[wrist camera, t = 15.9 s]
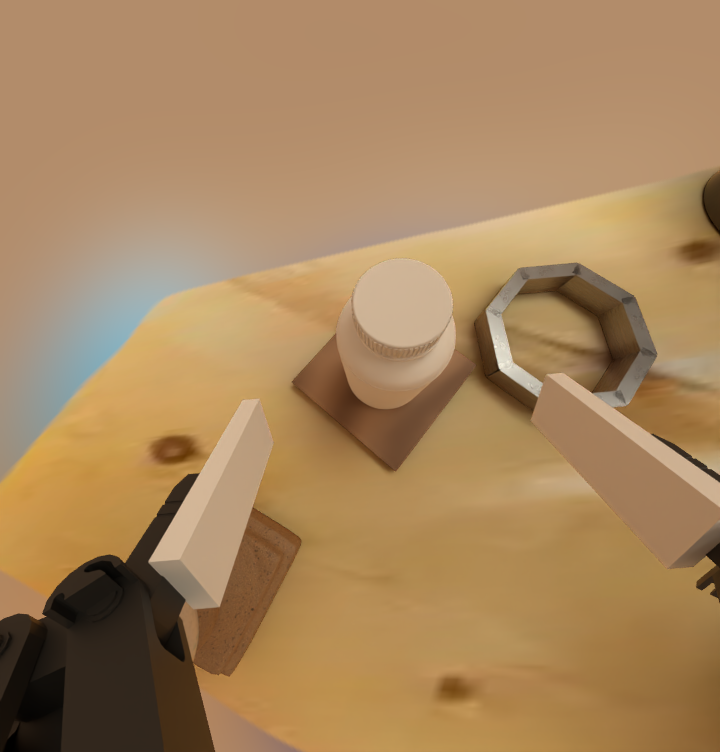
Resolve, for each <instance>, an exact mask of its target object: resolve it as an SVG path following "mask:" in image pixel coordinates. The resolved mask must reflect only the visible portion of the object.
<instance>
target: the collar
mask: <svg viewBox="0 0 720 752" xmlns="http://www.w3.org/2000/svg"><path fill="white" fill-rule="evenodd" d="M547 291H558V292H560V293H561V294H563V295H565V296H566V297H568V298H569V299H571V300H573V301H574V302H576V303H577V304H579V305H581V306H582V307H584V308H585V309H587V310H589V311H590V312H592V313H593V314H595V315H597V316H598V318H599V320H600V323H601V326H602V329H603V332H604V335H605V338H606V341H607V344H608V346H609V349H610V352H611V355H612V358H613V361H612V362H611V364H610V365H609V367H608V369H607V370H606V372H605V373H604V375H603V376H602V378H601V380H600V381H599V383H598V384H597V386H596V387H595V389H594V391H593V392H592V394H594V395H595V396H597V397H598V398H600V399H601V400H602V401H604V402H605V403H607V404H608V405H610V406H611V407H612V408H615V407H622V406H627V405H628V404H629V402H630V401H631V399H632V397H633V396H634V394H635V392H636V391H637V389H638V387H639V386H640V384H641V382H642V381H643V379H644V377H645V376H646V374H647V372H648V371H649V369H650V367H651V366H652V364H653V362H654V360H655V359H656V357H657V352H656V349H655V347H654V344H653V342H652V339H651V337H650V334H649V331H648V329H647V326H646V324H645V321H644V319H643V316H642V314H641V311H640V309H639V306H638V303H637V301H636V298H635V297H634V296H633V295H631V294H630V293H628V292H626V291H625V290H623V289H621V288H620V287H618V286H616V285H615V284H613V283H611V282H610V281H608V280H606V279H605V278H603V277H601V276H600V275H598V274H596V273H595V272H593V271H591V270H590V269H588V268H586V267H585V266H583V265H581V264H579V263H569V264H558V265H547V266H536V267H525V268H519V269H518V270H517V271H516V272H515V273H514V274H513V275H512V276H511V278H510V279H509V280H508V281H507V282H506V283H505V284H504V286H503V287H502V288H501V290H500V291H499V292H498V293H497V295H496V296H495V297H494V298H493V300H492V301H491V302H490V303H489V305H488V306H487V307H486V308H485V310H484V311H483V312H482V313H481V315H480V316H479V317H478V319H477V320H476V321H475V323H474V324H475V329H476V333H477V338H478V343H479V347H480V352H481V357H482V361H483V366H484V370H485V375H486V376H487V378H488V379H489V380H491V381H492V382H493V383H495V384H496V385H498V386H499V387H500V388H502V389H503V390H504V391H506V392H507V393H509V394H510V395H511V396H513V397H514V398H515V399H517V400H518V401H520V402H521V403H522V404H524V405H525V406H526V407H528V408H529V409H531V410H532V411H533V412H534V409H535V406H536V403H537V400H538V397H539V394H540V391H541V388H542V385H543V383H542V382H540V381H539V380H538V379H536V378H535V377H533V376H532V375H530V374H529V373H528V372H526V371H525V370H523V369H522V368H520V367H519V366H518V365H516V364H515V363H513V360H512V356H511V352H510V348H509V344H508V340H507V336H506V332H505V328H504V324H503V320H502V316H501V314H502V312H503V311H504V310H505V308H506V307H507V306H508V305H509V303H510V302H511V301H512V299H513V298H514V297H515V296H516V294H525V293H536V292H547Z"/></svg>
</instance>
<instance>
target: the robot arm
mask: <svg viewBox="0 0 720 752" xmlns="http://www.w3.org/2000/svg"><path fill="white" fill-rule="evenodd" d="M704 203H705V207H706V210H707V213H708V215H709V217H710V218H711V220H712V222H713V223H714V224H715V226H716V227H717V228H718V229H719V230H720V171H718V172H717V173H716V174H714V175H713V176H712V177H711V178H710V180H709V181H708V183H707V185H706V187H705V191H704ZM531 422H532V423H533V424H534V425H535V426H536V427H537V428H538V429H539V430H540V432H541V433H542V434H543V435H544V436H545V437H546V438H547V439H548V440H549V441H550V442H551V444H552V445H553V446H554V447H555V448H556V449H557V450H558V451H559V452H560V453H561V454H562V455H563V457H564V458H565V459H566V460H567V461H568V462H569V463H570V464H571V465H572V466H573V467H574V468H575V470H576V471H577V472H578V473H579V474H580V475H581V476H582V477H583V478H584V479H585V480H586V481H587V483H588V484H589V485H590V486H591V487H592V488H593V489H594V490H595V491H596V492H597V493H598V495H599V496H600V497H601V498H602V499H603V500H604V501H605V502H606V503H607V504H608V505H609V506H610V508H611V509H612V510H613V511H614V512H615V513H616V514H617V515H618V516H619V517H620V518H621V519H622V521H623V522H624V523H625V524H626V525H627V526H628V527H629V528H630V529H631V530H632V531H633V532H634V534H635V535H636V536H637V537H638V538H639V539H640V540H641V541H642V542H643V543H644V544H645V545H646V547H647V548H648V549H649V550H650V551H651V552H652V553H653V554H654V555H655V556H656V557H657V559H658V560H659V561H660V562H661V563H662V564H663V565H664V566H665V567H666V568H667V569H673V568H684V567H694V566H695V565H696V564H697V563H698V562H699V561H700V560H702V559H703V558H704V557H705V556H707V557H709V558H710V559H711V560H712V561H713V562H714V563H715V564H716V566H715V567H714V568H713V569H711V570H710V571H709V572H708V573H706V574H705V575H704V576H703V577H701V578H700V579H699V580H698V581H697V584H696V588H698V589H700V590H703V589H705V588H706V587H707V586H709V585H710V584H711V583H714V585H715V589H714V590H713V591H712V592H711V593H710V595H712V596H715V597H717V598H718V599H719V602H720V475H719V474H717V473H716V472H714V471H713V470H711V469H708V468H707V466H706V465H704V464H703V463H701V462H700V461H698V460H697V459H693V458H692V456H691V455H689V454H688V453H686V452H685V451H684V450H682V449H681V448H679V447H678V446H676V445H675V444H673V443H671V442H669V441H667V440H665V439H662V438H660V437H658V436H656V435H654V434H649V433H648V432H647V431H645V430H644V429H642V428H641V427H640V426H638V425H637V424H635V423H634V422H632V421H631V420H630V419H628V418H627V417H625V416H624V415H622V414H621V413H620V412H618V411H617V410H615V409H614V408H612V407H611V406H610V405H608V404H607V403H605V402H604V401H602V400H601V399H600V398H598V397H597V396H595V395H594V394H592V393H591V392H590V391H588V390H587V389H585V388H584V387H582V386H581V385H580V384H578V383H577V382H575V381H574V380H572V379H571V378H570V377H568V376H567V375H565V374H564V373H554V374H546V376H545V379H544V382H543V385H542V388H541V391H540V394H539V397H538V400H537V403H536V406H535V409H534V412H533V415H532V418H531ZM273 444H274V442H273V439H272V436H271V433H270V430H269V427H268V424H267V420H266V417H265V414H264V411H263V408H262V405H261V402H260V399H249V400H242V402H241V404H240V405H239V407H238V409H237V411H236V412H235V414H234V416H233V417H232V419H231V421H230V423H229V424H228V426H227V428H226V429H225V431H224V433H223V435H222V436H221V438H220V440H219V441H218V443H217V445H216V447H215V448H214V450H213V452H212V453H211V455H210V457H209V459H208V460H207V462H206V464H205V465H204V467H203V469H202V471H201V472H200V473H199V474H188V475H187V476H186V477H185V478H184V479H183V480H182V481H181V482H179V483H178V484H177V485H176V486H175V487H174V489H173V490H172V492H171V493H170V495H169V496H168V498H167V499H166V501H165V505H163V506H162V507H161V509H160V510H159V512H158V513H157V517H155V518H154V519H153V521H152V523H151V524H150V526H149V527H148V529H147V530H146V532H145V533H144V535H143V536H142V538H141V540H140V541H139V543H138V544H137V546H136V547H135V549H134V550H133V552H132V553H131V555H130V556H129V558H128V560H127V561H126V563H124V562H123V561H122V560H121V559H120V558H118V557H117V556H113V555H105V556H100V557H97V558H95V559H93V560H90V561H88V562H86V563H84V564H83V565H82V566H80V567H79V568H77V569H76V570H75V571H73V572H72V573H70V574H69V575H68V576H67V577H66V578H65V579H64V580H63V581H62V582H61V583H60V584H59V585H58V586H57V587H56V589H55V590H54V592H53V593H52V594H51V596H50V597H49V599H48V600H47V602H46V605H45V608H44V610H43V613H42V614H43V615H45V616H47V617H45V618H42V619H40V620H37V619H35V618H33V617H31V616H29V615H27V614H16V615H13V616H10V617H7V618H4V619H2V620H1V621H0V752H215V750H214V745H213V742H212V737H211V733H210V730H209V725H208V721H207V717H206V713H205V710H204V705H203V701H202V697H201V693H200V689H199V685H198V681H197V677H196V673H195V669H194V665H193V661H192V657H191V653H190V649H189V645H188V641H187V637H186V633H185V629H184V625H183V621H182V619H181V617H180V616H179V615H180V613H181V610H182V608H183V606H184V603H185V601H186V602H187V603H188V604H189V605H190V606H191V607H192V608H193V609H204V608H216V607H220V604H221V601H222V598H223V595H224V592H225V589H226V586H227V583H228V580H229V577H230V574H231V571H232V568H233V565H234V562H235V559H236V556H237V553H238V550H239V547H240V544H241V541H242V538H243V535H244V532H245V529H246V525H247V522H248V519H249V516H250V513H251V510H252V507H253V504H254V501H255V498H256V495H257V492H258V489H259V486H260V483H261V480H262V477H263V474H264V471H265V468H266V465H267V462H268V459H269V456H270V453H271V450H272V447H273Z"/></svg>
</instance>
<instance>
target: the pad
mask: <svg viewBox="0 0 720 752" xmlns="http://www.w3.org/2000/svg"><path fill="white" fill-rule="evenodd" d="M475 367H476V364H475V363H473V362H472V361H470V360H469V359H468V358H466V357H465V356H464V355H462V354H461V353H459V352H458V351H457V350H455V349H454V351H453V354H452V357H451V359H450V361H449V363H448V365H447V366H446V368H445V369H444V370H443V371H442V373H441V374H440V375H439V376H438V377H437V378H436V379H434V380H433V381H432V382H431V383H430V384H429V385H428V386H427V387H425V388H424V389H423V390H422V391H421V392H420V393H419V394H418V395H416V396H415V397H414V398H413V399H412V400H411V401H410V402H408V403H407V404H405V405H403V406H401V407H398V408H394V409H377V408H374V407H371V406H369V405H367V404H365V403H363V402H362V401H361V400H360V399H358V398H357V397H356V395H355V394H354V393H353V391H352V390H351V388H350V386H349V383H348V380H347V377H346V374H345V370H344V367H343V364H342V361H341V357H340V354H339V351H338V347H337V340H336V334H335V335H334V336H333V337H332V338H331V339H330V341H329V342H328V343H327V344H326V345H325V346H324V347H323V348H322V349H321V350H320V352H319V353H318V354H317V355H316V356H315V357H314V358H313V359H312V360H311V361H310V362H309V364H308V365H307V366H306V367H305V368H304V369H303V370H302V371H301V372H300V373H299V374H298V376H297V377H296V378H295V379H294V380H293V381H292V383H293V384H294V385H296V386H297V387H298V388H299V389H300V390H301V391H302V392H304V393H305V394H306V395H307V396H308V397H309V398H311V399H312V400H313V401H314V402H315V403H316V404H318V405H319V406H320V407H321V408H322V409H323V410H325V411H326V412H327V413H328V414H329V415H330V416H332V417H333V418H334V419H335V420H336V421H337V422H339V423H340V424H341V425H342V426H343V427H344V428H346V429H347V430H348V431H349V432H350V433H351V434H353V435H354V436H355V437H356V438H357V439H358V440H360V441H361V442H362V443H363V444H364V445H365V446H367V447H368V448H369V449H370V450H371V451H372V452H373V453H375V454H376V455H377V456H378V457H379V458H380V459H382V460H383V461H384V462H385V463H386V464H387V465H389V466H390V467H391V468H392V469H393V470H394V471H397V469H398V468H399V467H400V465H401V464H402V463H403V461H404V460H405V459H406V458H407V456H408V455H409V454H410V452H411V451H412V450H413V448H414V447H415V446H416V444H417V443H418V442H419V440H420V439H421V438H422V436H423V435H424V434H425V432H426V431H427V430H428V429H429V427H430V426H431V425H432V423H433V422H434V421H435V419H436V418H437V417H438V415H439V414H440V413H441V411H442V410H443V409H444V407H445V406H446V405H447V403H448V402H449V401H450V400H451V398H452V397H453V396H454V394H455V393H456V392H457V390H458V389H459V388H460V386H461V385H462V384H463V382H464V381H465V380H466V378H467V377H468V376H469V375H470V373H471V372H472V371H473V369H474V368H475Z"/></svg>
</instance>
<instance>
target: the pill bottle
mask: <svg viewBox="0 0 720 752" xmlns="http://www.w3.org/2000/svg"><path fill="white" fill-rule="evenodd" d="M451 294H452V293H451V291H450V288H449V286H448V284H447V283H446V281H445V280H444V278H443V277H442V276H441V275H440V274H439V273H438V272H437V271H436V270H435V269H434V268H432V267H431V266H429V265H427V264H425V263H423V262H420V261H417V260H413V259H407V258H396V259H390V260H386V261H383V262H380V263H378V264H376V265H374V266H373V267H371V268H370V269H369V270H367V271H366V272H365V273H364V274H363V275H362V277H360V279H359V280H358V282H357V284H356V285H355V288H354V290H353V293H352V296H351V297H350V299H349V300H348V301H347V303H346V304H345V306H344V307H343V309H342V312H341V314H340V316H339V319H338V323H337V329H336V340H337V347H338V351H339V354H340V357H341V361H342V364H343V367H344V370H345V374H346V377H347V380H348V383H349V386H350V388H351V390H352V391H353V393H354V394H355V395H356V397H357V398H358V399H360V400H361V401H362V402H363V403H365V404H367V405H369V406H371V407H374V408H377V409H394V408H398V407H401V406H403V405H405V404H407V403H408V402H410V401H411V400H412V399H413V398H414V397H415V396H416V395H418V394H419V393H420V392H421V391H422V390H423V389H424V388H425V387H427V386H428V385H429V384H430V383H431V382H432V381H433V380H434V379H436V378H437V377H438V376H439V375H440V374H441V373H442V371H443V370H444V369H445V368H446V366H447V365H448V363H449V361H450V359H451V357H452V354H453V351H454V347H455V340H456V329H455V323H454V319H453V316H452V313H453V310H452V309H453V300H452V299H453V298H452V295H451Z"/></svg>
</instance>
